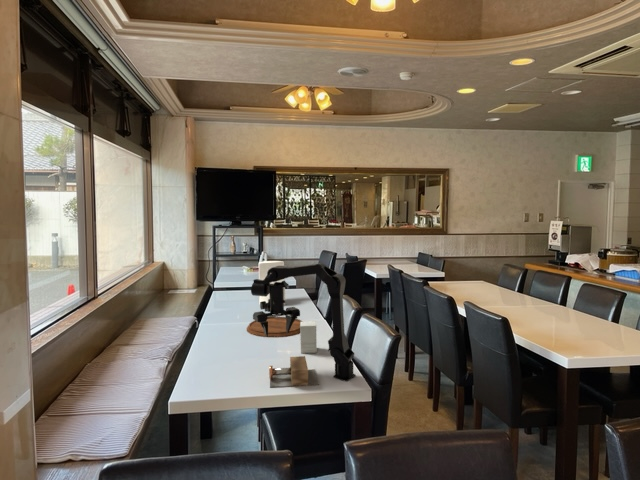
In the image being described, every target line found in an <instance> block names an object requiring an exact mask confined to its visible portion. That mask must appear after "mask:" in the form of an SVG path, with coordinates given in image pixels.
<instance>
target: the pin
mask: <svg viewBox="0 0 640 480" xmlns="http://www.w3.org/2000/svg"><path fill="white" fill-rule="evenodd" d="M268 367H269V370H268V371H269V372H268V375H269V377H268V378H269V379H270V378H273V376H274V375H291V368H290V367H277V368H276V367H273V365H269V366H268Z"/></svg>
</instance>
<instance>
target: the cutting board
mask: <svg viewBox="0 0 640 480" xmlns="http://www.w3.org/2000/svg"><path fill="white" fill-rule="evenodd" d="M266 321H268V337H266V336H265V333H264V330H263V328H262V326H261V324H260V323H259V322H257V321H255V320H253V321H251V322H250V323H249V324H248V325H247V327H246V332H247V333H248V334H250V335H252V336H256V337H262V338H285V337H286V338H287V337H291V336H296V335H300V322H304V321H303V320H300V319H299V318H297V319H295V321H294V322H293V324H292V326H291V328H290V330H289V333H286V316H277V317H270V318H267V320H266Z"/></svg>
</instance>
